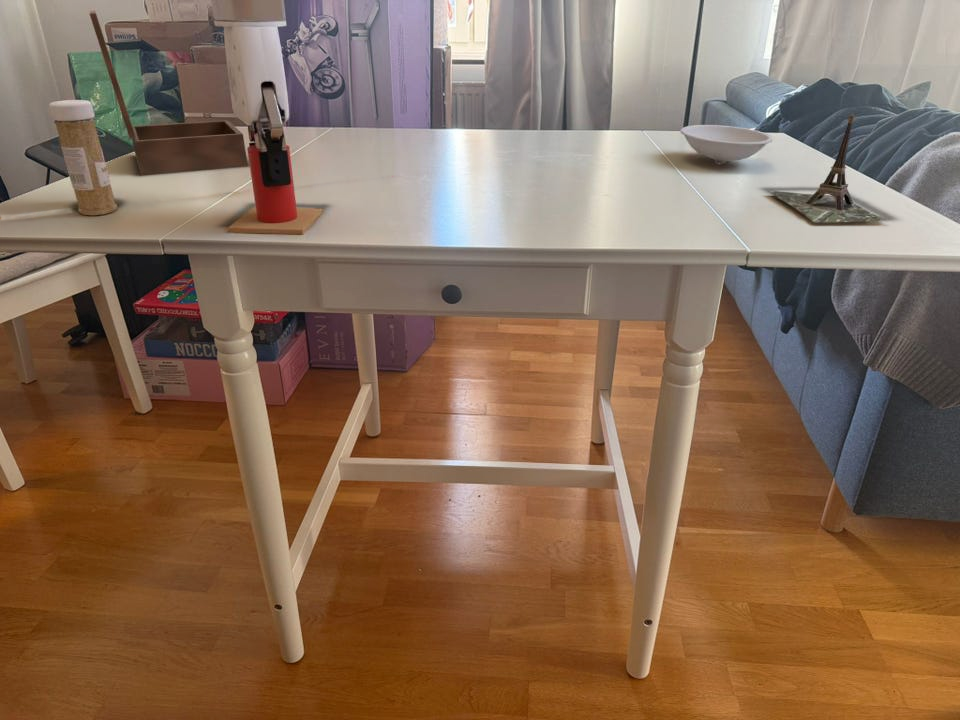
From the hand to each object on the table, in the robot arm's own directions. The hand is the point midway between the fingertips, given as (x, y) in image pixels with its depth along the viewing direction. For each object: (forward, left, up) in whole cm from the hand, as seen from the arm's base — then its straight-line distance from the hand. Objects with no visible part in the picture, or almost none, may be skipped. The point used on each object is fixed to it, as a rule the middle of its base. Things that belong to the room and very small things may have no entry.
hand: (272, 178), depth 81 cm
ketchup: (0, 0, -5) cm, 5 cm away
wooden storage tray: (-6, +37, -5) cm, 38 cm away
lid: (-14, +37, +9) cm, 41 cm away
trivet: (0, 0, -5) cm, 5 cm away
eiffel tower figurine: (+68, -25, -6) cm, 73 cm away
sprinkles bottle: (-20, +15, -6) cm, 25 cm away
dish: (+77, +3, -6) cm, 77 cm away
